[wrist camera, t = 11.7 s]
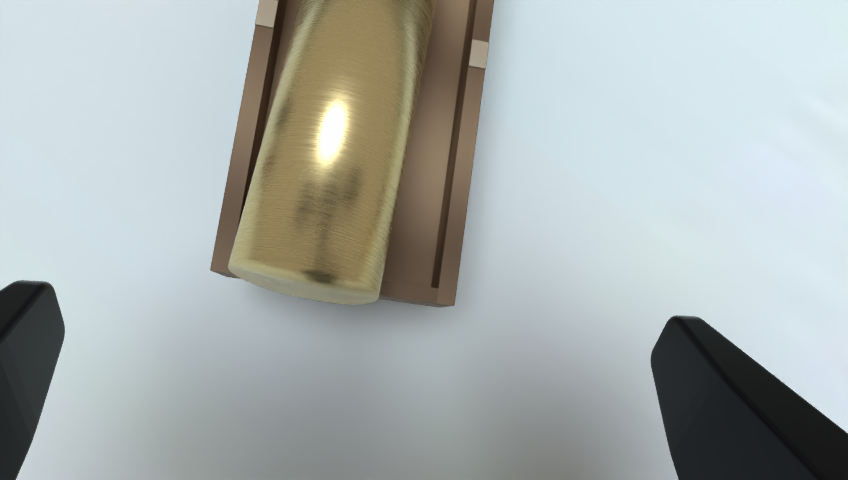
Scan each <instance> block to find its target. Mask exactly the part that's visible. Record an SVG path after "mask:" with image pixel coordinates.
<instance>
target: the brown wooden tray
mask: <svg viewBox="0 0 848 480" xmlns="http://www.w3.org/2000/svg"><path fill="white" fill-rule="evenodd" d="M300 2H301V0H259V5H258V11H257V16H256V21H255V31H254V36H253V42H252V47H251V52H250V58H249V63H248V69H247V74H246V79H245V85H244V90H243V96H242V101H241V106H240V112H239V117H238V123H237V128H236V133H235V139H234V144H233V150H232V155H231V160H230V166H229V171H228V177H227V182H226V187H225V193H224V198H223V204H222V209H221V214H220V220H219V225H218V231H217V236H216V242H215V247H214V252H213V258H212V263H211V269H210V270H211V271H213V272H216V273H218V274H221V275H224V276H226V277H232V278H239V277H238V276H236V275H234V274H233V273H232V272H231V271H230V270H229V269H228V264H229V260H230V256H231V253H232V249H233V246H234V242H235V238H236V235H237V231H238V227H239V224H240V220H241V216H242V213H243V209H244V206H245V202H246V198H247V195H248V191H249V187H250V184H251V180H252V177H253V173H254V169H255V166H256V162H257V158H258V155H259V151H260V148H261V144H262V140H263V137H264V133H265V129H266V126H267V122H268V119H269V115H270V111H271V108H272V104H273V100H274V97H275V93H276V90H277V86H278V82H279V79H280V75H281V71H282V68H283V64H284V61H285V57H286V53H287V50H288V46H289V42H290V39H291V35H292V32H293V28H294V24H295V21H296V17H297V13H298V10H299V6H300ZM493 4H494V0H437V3H436V8H435V13H434V18H433V23H432V28H431V33H430V38H429V43H428V48H427V53H426V59H425V64H424V69H423V74H422V79H421V84H420V89H419V94H418V99H417V104H416V109H415V114H414V120H413V125H412V130H411V135H410V140H409V145H408V150H407V155H406V160H405V165H404V170H403V175H402V180H401V186H400V191H399V196H398V201H397V206H396V211H395V216H394V221H393V226H392V231H391V236H390V241H389V247H388V252H387V257H386V262H385V267H384V272H383V277H382V282H381V287H380V292H379V297H378V299H385V300H392V301H399V302H406V303H413V304H420V305H427V306H434V307H445V306H454V304H455V297H456V289H457V281H458V274H459V266H460V258H461V251H462V243H463V235H464V228H465V220H466V212H467V204H468V197H469V189H470V181H471V174H472V166H473V158H474V151H475V143H476V135H477V127H478V120H479V112H480V104H481V97H482V89H483V81H484V74H485V69H486V63H487V55H488V48H489V35H490V27H491V20H492V12H493ZM239 279H241V278H239Z"/></svg>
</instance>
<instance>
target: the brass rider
mask: <svg viewBox="0 0 848 480" xmlns="http://www.w3.org/2000/svg"><path fill="white" fill-rule="evenodd" d="M436 3H437V0H301V2H300V6H299V10H298V13H297V17H296V21H295V24H294V28H293V32H292V35H291V39H290V42H289V46H288V50H287V53H286V57H285V61H284V64H283V68H282V71H281V75H280V79H279V82H278V86H277V90H276V93H275V97H274V100H273V104H272V108H271V111H270V115H269V119H268V122H267V126H266V129H265V133H264V137H263V140H262V144H261V148H260V151H259V155H258V158H257V162H256V166H255V169H254V173H253V177H252V180H251V184H250V187H249V191H248V195H247V198H246V202H245V206H244V209H243V213H242V216H241V220H240V224H239V227H238V231H237V235H236V238H235V242H234V246H233V249H232V253H231V256H230V260H229V264H228V269H229V270H230V271H231V272H232V273H233V274H234V275H236V276H238V277H239V278H241V279H243V280H245V281H247V282H250V283H252V284H255V285H257V286H260V287H263V288H266V289H269V290H272V291H276V292H279V293H283V294H287V295H291V296H295V297H300V298H305V299H310V300H315V301H321V302H328V303H337V304H354V305H358V304H369V303H373V302H376V301H377V300H378V297H379V292H380V287H381V282H382V277H383V272H384V267H385V262H386V257H387V252H388V247H389V241H390V236H391V231H392V226H393V221H394V216H395V211H396V206H397V201H398V196H399V191H400V186H401V180H402V175H403V170H404V165H405V160H406V155H407V150H408V145H409V140H410V135H411V130H412V125H413V120H414V114H415V109H416V104H417V99H418V94H419V89H420V84H421V79H422V74H423V69H424V64H425V59H426V53H427V48H428V43H429V38H430V33H431V28H432V23H433V18H434V13H435V8H436Z"/></svg>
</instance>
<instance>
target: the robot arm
mask: <svg viewBox="0 0 848 480" xmlns="http://www.w3.org/2000/svg"><path fill="white" fill-rule="evenodd" d="M64 335H65V326H64V321H63V318H62V314H61V311H60V307H59V304H58V301H57V297H56V294H55V290H54V288H53V286H52V285H51V284H50V283H48V282H43V281H25V280H21V281H16V282H13V283H11V284H10V285H8V286H6V287H5V288H3V289H2V290H0V480H16V478H17V475H18V473H19V471H20V469H21V466H22V464H23V462H24V460H25V457H26V455H27V452H28V450H29V448H30V445H31V443H32V440H33V437H34V434H35V431H36V428H37V425H38V422H39V419H40V416H41V412H42V409H43V406H44V403H45V399H46V396H47V393H48V390H49V386H50V383H51V380H52V377H53V373H54V370H55V367H56V364H57V360H58V357H59V354H60V351H61V347H62V344H63V340H64ZM651 368H652V372H653V377H654V382H655V386H656V391H657V395H658V400H659V405H660V409H661V414H662V418H663V423H664V428H665V432H666V437H667V441H668V445H669V449H670V453H671V457H672V460H673V463H674V466H675V470H676V473H677V476H678V479H679V480H848V433H846V432H845V431H844V430H843V429H841V428H840V427H839V426H838V425H836V424H835V423H834V422H832V421H831V420H830V419H829V418H827V417H826V416H825V415H823V414H822V413H821V412H820V411H818V410H817V409H816V408H815V407H813V406H812V405H811V404H809V403H808V402H807V401H806V400H804V399H803V398H802V397H801V396H799V395H798V394H797V393H795V392H794V391H793V390H792V389H790V388H789V387H788V386H787V385H785V384H784V383H783V382H781V381H780V380H779V379H778V378H776V377H775V376H774V375H772V374H771V373H770V372H769V371H767V370H766V369H765V368H764V367H762V366H761V365H760V364H758V363H757V362H756V361H755V360H753V359H752V358H751V357H750V356H748V355H747V354H746V353H744V352H743V351H742V350H741V349H739V348H738V347H737V346H735V345H734V344H733V343H732V342H730V341H729V340H728V339H727V338H725V337H724V336H723V335H721V334H720V333H719V332H718V331H716V330H715V329H714V328H713V327H711V326H710V325H709V324H707V323H706V322H705V321H704V320H702V319H701V318H698V317H695V316H673V317H671V318H670V319H669V320H668V321H667V323H666V325H665V327H664V329H663V331H662V333H661V335H660V337H659V339H658V341H657V342H656V344H655V346H654V348H653V351H652V354H651Z"/></svg>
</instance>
